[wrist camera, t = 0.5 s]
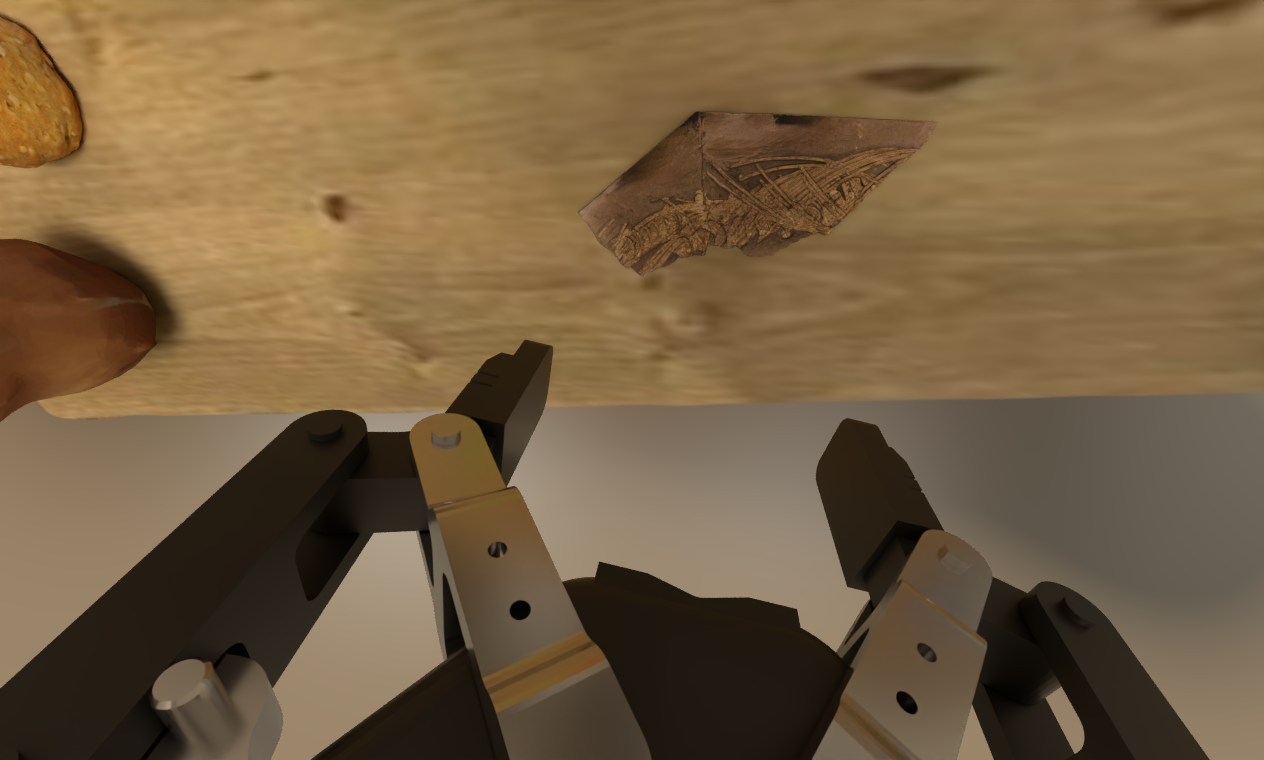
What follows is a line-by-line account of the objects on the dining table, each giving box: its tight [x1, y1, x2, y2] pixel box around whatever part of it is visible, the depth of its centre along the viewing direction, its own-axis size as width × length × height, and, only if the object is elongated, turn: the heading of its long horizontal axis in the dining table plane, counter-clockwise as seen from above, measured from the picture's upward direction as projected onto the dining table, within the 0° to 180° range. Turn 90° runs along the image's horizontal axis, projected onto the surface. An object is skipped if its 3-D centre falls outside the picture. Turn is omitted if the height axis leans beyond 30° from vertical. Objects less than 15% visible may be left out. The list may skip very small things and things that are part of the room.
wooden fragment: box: [579, 112, 938, 276], centre depth 35 cm, size 26×11×1 cm, turn 102°
